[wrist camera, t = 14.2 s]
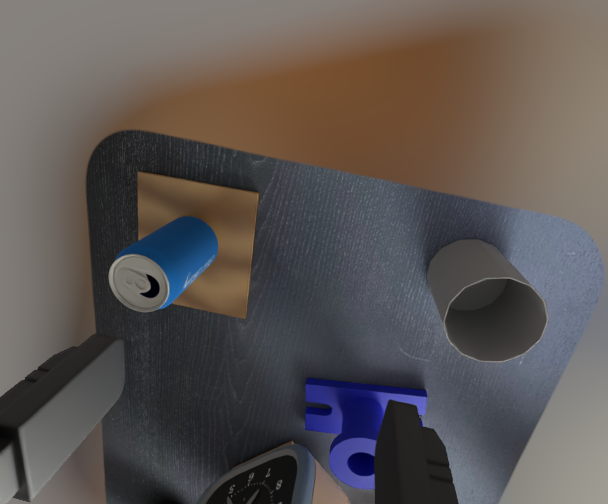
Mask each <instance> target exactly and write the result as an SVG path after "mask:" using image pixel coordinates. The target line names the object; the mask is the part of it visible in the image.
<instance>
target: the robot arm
mask: <svg viewBox="0 0 608 504" xmlns="http://www.w3.org/2000/svg"><path fill="white" fill-rule="evenodd" d="M124 385H125V355H124V342H123V340H122V339H120V338H116V337H111V336H107V335H102V334H94V335H92V336H91V337H90V338H88V339H87V340H86V341H85V342H83V343H82V344H81V345H80V346H79V347H71V348H69V349H66V350H64V351H62V352H60V353H58V354H55V355H53V356H52V357H51V358H49V359H48V360H47V361H46V362H45V363H43V364H42V365H41V366H39V367H38V369H37V370H34V371H33V372H32V373H30V374H29V375H28V376H27V377H25V380H22V381H20V382H19V383H18V384H16V385H15V386H14V387H13V388H11V389H10V390H9V391H7V392H6V393H5V394H4V395H3V396H1V397H0V504H7V503H8V502H9V501H10V499H11V498H16V499H20V500H23V501H27V502H31V501H32V500H33V499H34V498H35V496H36V495H37V494H38V493H39V492H40V490H41V489H42V488H43V487H44V486H45V485H46V483H47V482H48V481H49V480H50V479H51V478H52V477H53V475H54V474H55V473H56V472H57V471H58V469H59V468H60V467H61V466H62V465H63V463H64V462H65V461H66V460H67V459H68V458H69V457H70V455H71V454H72V453H73V452H74V451H75V449H76V448H77V447H78V446H79V445H80V444H81V443H82V441H83V440H84V439H85V438H86V437H87V436H88V434H89V433H90V432H91V431H92V430H93V428H94V427H95V426H96V425H97V424H98V423H99V421H100V420H101V419H102V418H103V417H104V416H105V414H106V413H107V412H108V411H109V410H110V409H111V407H112V406H113V405H114V404H115V403H116V402H117V400H118V399H119V397H120V395H121V393H122V391H123V388H124ZM374 477H375V504H458V499H457V495H456V491H455V487H454V484H453V478H452V474H451V470H450V468H449V461H448V457H447V453H446V448H445V446H444V444H443V443H442V441H441V439H440V438H439V436H438V435H437V433H436V432H435V430H434V429H431V428H427V427H422V426H420V420H419V414H418V409H417V406H416V405H413V404H409V403H404V402H400V401H395V400H391V399H390V400H389V401H388V403H387V406H386V410H385V413H384V417H383V420H382V424H381V427H380V431H379V434H378V438H377V442H376V447H375V456H374Z"/></svg>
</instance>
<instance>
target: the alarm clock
mask: <svg viewBox="0 0 608 504" xmlns="http://www.w3.org/2000/svg"><path fill="white" fill-rule="evenodd" d="M197 504H350V503H349V499H348V497H347V496H346V495H345V493H344V492H343V491H342V490H341V489H340V487H339V486H338V485H337V484H336V483H335V481H334V480H333V479H332V478H331V477H330V476H329V474H328V473H327V472H326V471H325V470H324V469H323V467H322V466H321V465H320V464H319V463H318V462H317V460H316V459H315V458H314V457H313V456H312V455H311V453H310V452H309V451H308V450H307V449H306V448H305V447H304V446H303V445H299V444H295V443H294V442H293V440H292V441H290V442H288V443H286V444H284V445H281V446H279V447H277V448H275V449H273V450H270V451H268V452H266V453H264V454H262V455H259V456H257V457H255V458H253V459H251V460H248V461H246V462H244V463H242V464H240V465H238V466H235V467H233V468H232V470H230V471H229V472H227V473H226V474H224V475H222V476H221V477H219V478H217V479H216V480H215V481H214V482H213V483H212V484H211V485H210V486H209V487H208V488H207V489H206V491H205V492H204V493H203V494H202V496H201V497H200V499H199V501H198V502H197Z"/></svg>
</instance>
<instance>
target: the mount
mask: <svg viewBox="0 0 608 504" xmlns="http://www.w3.org/2000/svg"><path fill="white" fill-rule="evenodd" d="M390 399H391V400H395V401H400V402H404V403H409V404H413V405H416V406H417V409H418V414H420V415H425V410H426V404H427V393H426V390H418V389H409V388H399V387H390V386H380V385H371V384H361V383H352V382H342V381H333V380H323V379H314V378H307V381H306V402H315V403H323V404H328V405H329V406H331V408H329V409H321V408H312V407H307V408H306V413H305V430H310V431H318V432H326V433H334V434H340V435H338V436H337V437H336V438H335V439H334V440H333V442H332V444H331V447H330V455H329V465H330V468H331V470H332V472H333V474H334V475H335V476H336V477H337V478H338V479H339V480H340V481H342V482H343V483H345V484H347V485H349V486H351V487H354V488H358V489H375V477H374V456H375V447H376V442H377V438H378V434H379V431H380V427H381V424H382V420H383V417H384V413H385V410H386V406H387V403H388V401H389V400H390ZM420 426H422V427H423V425H422V420H420Z"/></svg>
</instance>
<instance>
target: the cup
mask: <svg viewBox="0 0 608 504" xmlns="http://www.w3.org/2000/svg"><path fill="white" fill-rule="evenodd" d="M426 277H427V281H428V285H429V289H430V292H431V295H432V298H433V301H434V303H435V306H436V309H437V312H438V315H439V317H440V320H441V323H442V326H443V329H444V331H445V334H446V337H447V340H448V341H449V342H450V343H451V344H452V345H453V346H454V347H455V349H456V350H457V351H458V352H459V353H460V354H461V355H464V356H466V357H469V358H471V359H474V360H476V361H479V362H505V361H508V360H511V359H513V358H516V357H519V356H522V355H525V354H526V353H527V352H528V351H529V350H530V349H531V348H532V347H534V346H535V345H536V344H537V343H538V342H539V341H540V340H541V339H542V336H543V334H544V331H545V329H546V327H547V324H548V322H549V320H548V313H547V307H546V301H545V300H544V299H543V298H542V297H541V296H540V294H539V293H538V292H537V291H536V290H535V289H534V287H533V286H532V285H531V284H530V283H529V282H528V281H527V280H526V279H525V278H524V277H523V276H522V275H521V274H520V273H519V271H518V270H517V269H516V268H515V267H514V266H513V265H512V264H511V263H510V262H509V261H508V260H507V259H506V258H505V257H504V256H503V255H502V253H501V252H500V251H499V250H498V249H497V248H496V247H495V246H494V245H491V244H489V243H486V242H484V241H481V240H479V239H466V240H457V241H455V242H453V243H451V244H449V245H447V246H445V247H442V248H441V249H440V250H439V252H438V253H437V254H436V255H435V256H434V257H433V258H432V260H431V261H430V264H429V268H428V272H427V276H426Z"/></svg>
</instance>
